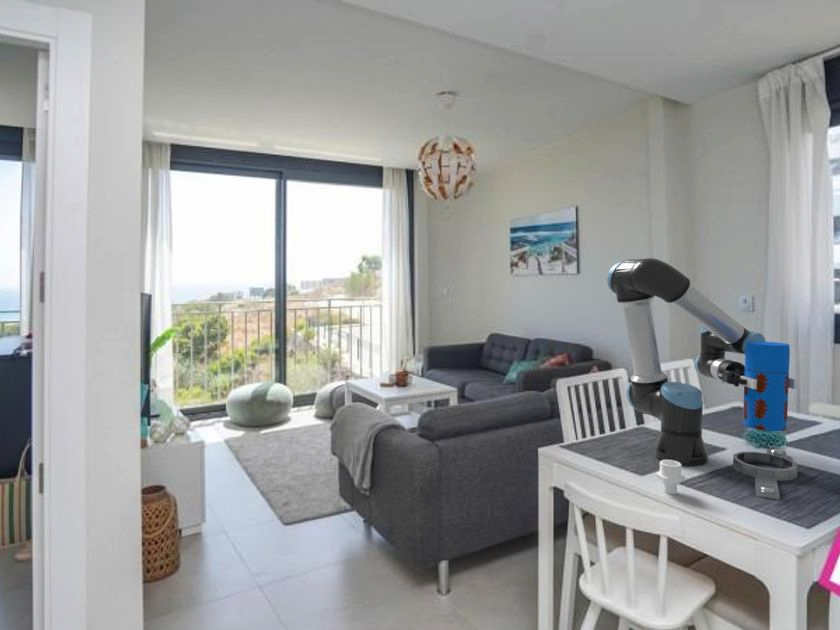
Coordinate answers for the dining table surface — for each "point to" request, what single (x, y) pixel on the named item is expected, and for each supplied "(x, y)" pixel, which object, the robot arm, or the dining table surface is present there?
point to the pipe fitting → (670, 475)
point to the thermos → (767, 385)
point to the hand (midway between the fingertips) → (775, 384)
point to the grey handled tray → (766, 470)
